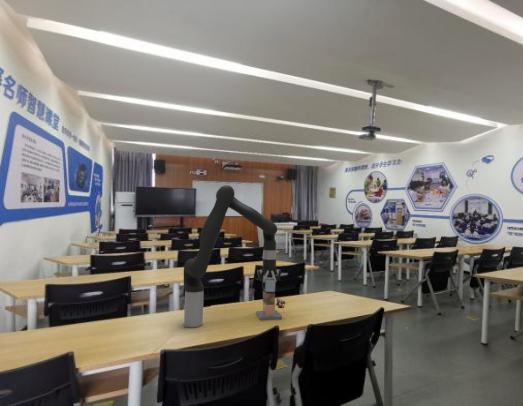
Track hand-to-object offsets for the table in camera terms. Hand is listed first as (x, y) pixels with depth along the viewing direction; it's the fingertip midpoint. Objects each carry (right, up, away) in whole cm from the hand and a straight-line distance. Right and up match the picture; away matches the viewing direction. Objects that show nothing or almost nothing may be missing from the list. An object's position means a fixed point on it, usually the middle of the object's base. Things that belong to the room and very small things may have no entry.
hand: (269, 288), depth 185 cm
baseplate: (0, -15, -1) cm, 15 cm away
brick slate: (0, -1, 0) cm, 1 cm away
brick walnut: (0, -8, 0) cm, 8 cm away
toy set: (+6, -17, +22) cm, 28 cm away
